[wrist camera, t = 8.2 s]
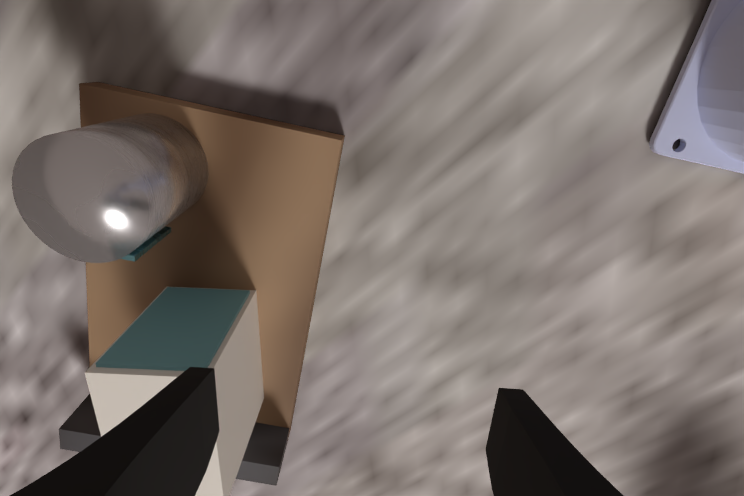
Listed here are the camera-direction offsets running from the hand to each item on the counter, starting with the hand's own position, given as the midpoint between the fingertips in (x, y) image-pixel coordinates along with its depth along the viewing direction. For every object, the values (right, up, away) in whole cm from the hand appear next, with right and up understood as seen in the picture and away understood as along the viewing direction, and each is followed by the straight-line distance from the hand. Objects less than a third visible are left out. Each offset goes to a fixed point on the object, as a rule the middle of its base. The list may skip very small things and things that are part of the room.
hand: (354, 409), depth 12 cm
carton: (-7, 0, +10) cm, 12 cm away
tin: (-8, +7, +7) cm, 13 cm away
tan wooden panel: (-7, +2, +10) cm, 12 cm away
